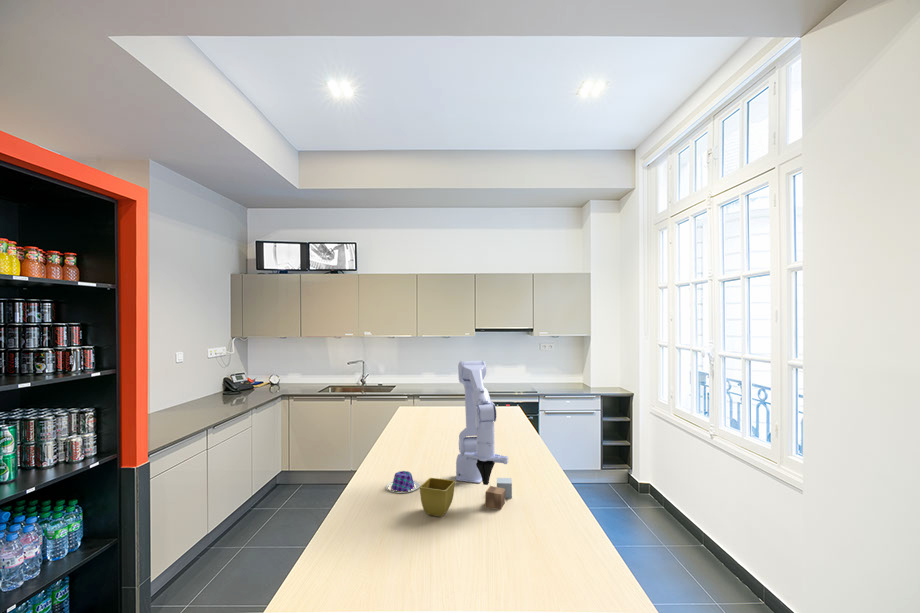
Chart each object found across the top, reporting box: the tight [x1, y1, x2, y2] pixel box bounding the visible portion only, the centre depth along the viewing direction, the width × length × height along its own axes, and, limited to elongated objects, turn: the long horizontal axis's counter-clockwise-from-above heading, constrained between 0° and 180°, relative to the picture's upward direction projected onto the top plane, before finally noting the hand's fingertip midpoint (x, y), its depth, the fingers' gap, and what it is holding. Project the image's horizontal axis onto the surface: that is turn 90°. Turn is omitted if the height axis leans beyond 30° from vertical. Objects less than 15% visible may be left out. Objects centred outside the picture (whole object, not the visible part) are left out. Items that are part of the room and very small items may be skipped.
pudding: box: [385, 470, 421, 494], centre depth 159 cm, size 12×12×5 cm
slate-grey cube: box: [496, 477, 513, 499], centre depth 151 cm, size 5×5×5 cm
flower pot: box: [419, 477, 456, 518], centre depth 138 cm, size 9×9×9 cm
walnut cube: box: [484, 485, 506, 511], centre depth 143 cm, size 5×5×5 cm
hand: (486, 483), depth 144 cm, fingers closed
